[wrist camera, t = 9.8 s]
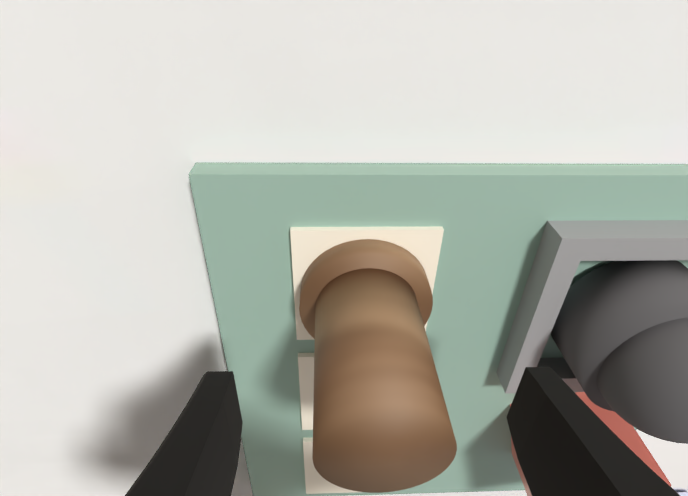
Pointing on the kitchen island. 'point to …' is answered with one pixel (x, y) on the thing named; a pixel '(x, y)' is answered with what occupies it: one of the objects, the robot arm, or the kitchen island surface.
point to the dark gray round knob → (631, 342)
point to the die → (619, 428)
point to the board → (443, 276)
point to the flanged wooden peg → (374, 369)
